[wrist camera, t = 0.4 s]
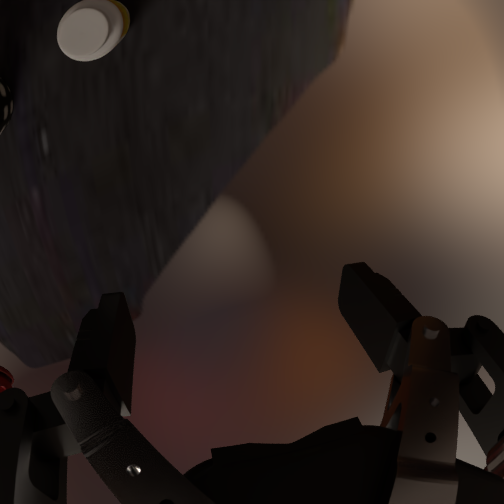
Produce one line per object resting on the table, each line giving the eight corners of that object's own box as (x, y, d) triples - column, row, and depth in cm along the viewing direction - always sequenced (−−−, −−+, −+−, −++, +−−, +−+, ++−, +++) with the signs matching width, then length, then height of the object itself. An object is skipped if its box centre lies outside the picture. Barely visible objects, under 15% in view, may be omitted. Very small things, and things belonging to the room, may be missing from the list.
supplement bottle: (102, -11, 20) (80, -16, 14) (142, 17, 24) (135, 21, 17) (67, 32, 22) (34, 46, 15) (106, 58, 26) (87, 80, 19)
